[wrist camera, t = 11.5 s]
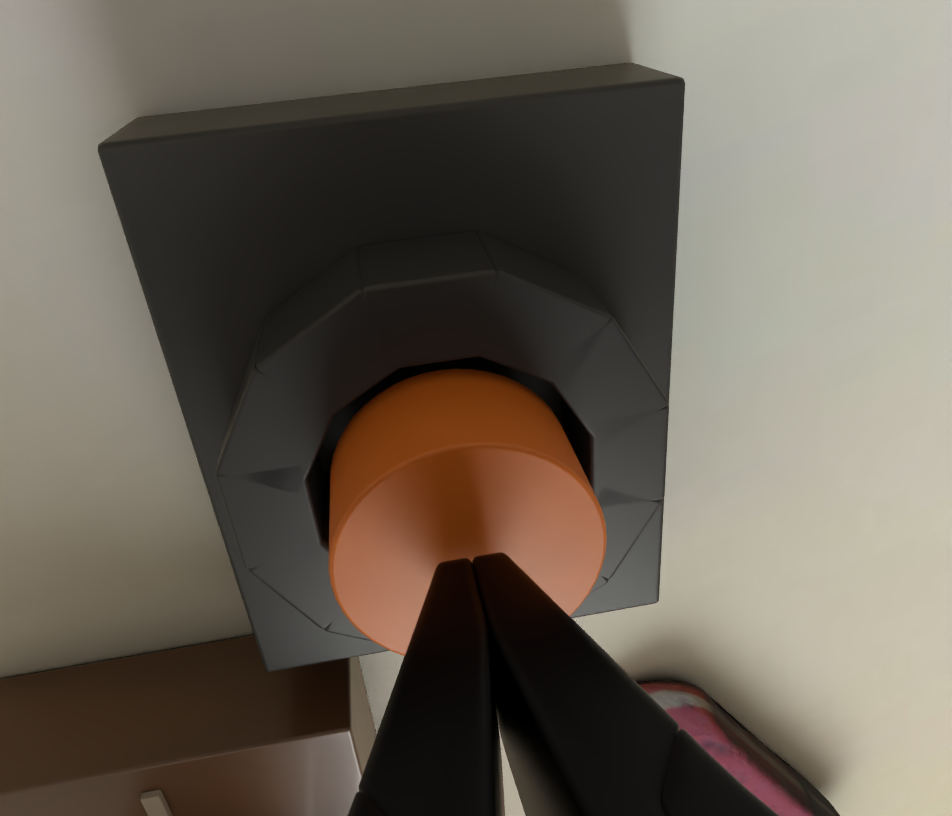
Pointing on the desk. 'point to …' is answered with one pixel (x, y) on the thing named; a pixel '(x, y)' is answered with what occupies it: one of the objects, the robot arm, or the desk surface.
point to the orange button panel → (408, 298)
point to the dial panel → (185, 736)
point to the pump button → (455, 497)
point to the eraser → (739, 750)
